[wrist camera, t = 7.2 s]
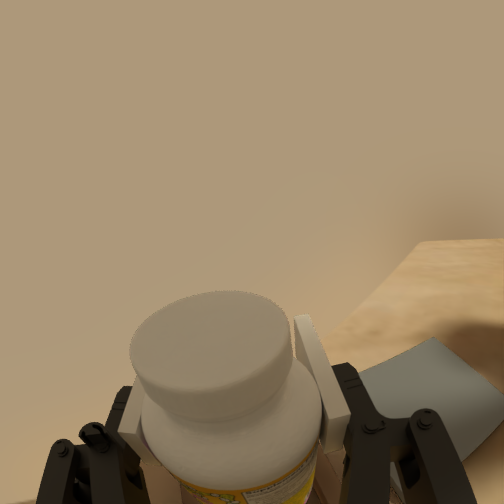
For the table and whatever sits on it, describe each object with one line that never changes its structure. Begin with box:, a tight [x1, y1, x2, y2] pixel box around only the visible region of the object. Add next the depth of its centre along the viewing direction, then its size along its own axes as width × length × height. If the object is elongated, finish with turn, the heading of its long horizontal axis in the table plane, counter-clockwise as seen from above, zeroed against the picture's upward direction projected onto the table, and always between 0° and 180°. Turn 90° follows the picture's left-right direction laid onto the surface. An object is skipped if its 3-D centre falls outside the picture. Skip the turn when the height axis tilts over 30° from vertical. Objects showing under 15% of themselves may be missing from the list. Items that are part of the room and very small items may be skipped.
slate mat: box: [358, 337, 504, 504], centre depth 20 cm, size 16×16×1 cm
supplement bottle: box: [130, 291, 322, 504], centre depth 10 cm, size 7×7×13 cm
